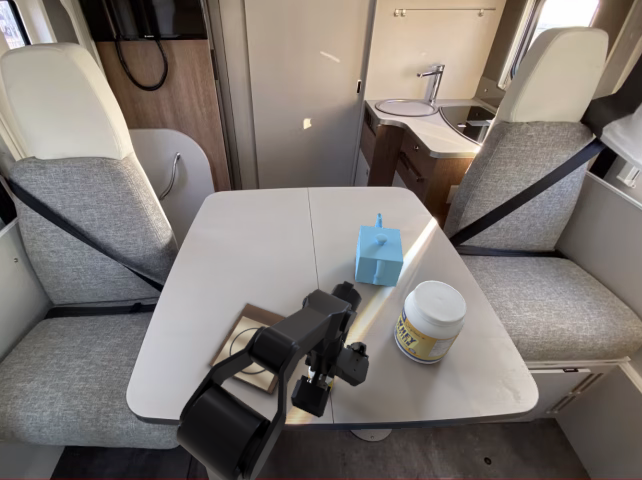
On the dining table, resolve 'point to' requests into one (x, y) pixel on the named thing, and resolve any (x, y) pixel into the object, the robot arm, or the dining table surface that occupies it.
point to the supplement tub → (430, 321)
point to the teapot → (378, 255)
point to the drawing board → (238, 340)
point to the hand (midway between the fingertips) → (320, 379)
